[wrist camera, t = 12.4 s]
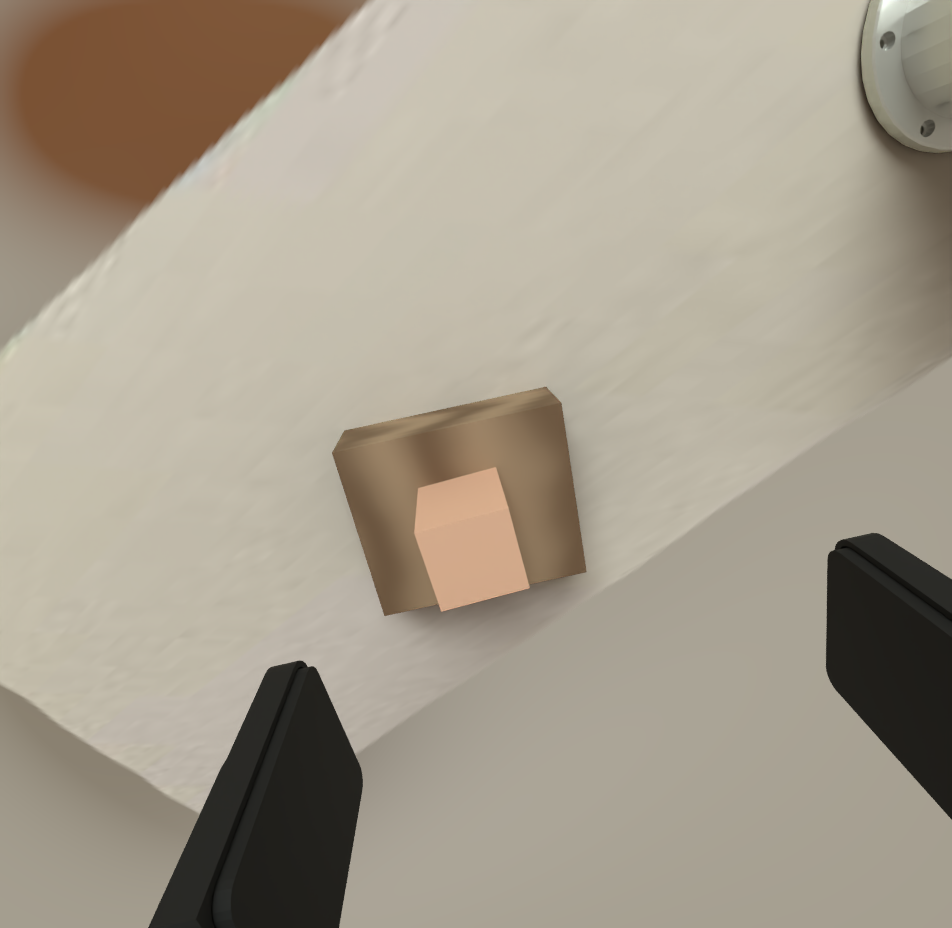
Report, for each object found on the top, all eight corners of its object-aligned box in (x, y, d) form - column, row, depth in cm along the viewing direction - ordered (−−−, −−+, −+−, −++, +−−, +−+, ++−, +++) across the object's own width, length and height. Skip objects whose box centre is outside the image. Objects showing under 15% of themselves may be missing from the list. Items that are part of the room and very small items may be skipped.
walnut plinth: (544, 385, 36) (561, 402, 31) (568, 536, 40) (586, 571, 35) (345, 429, 36) (332, 452, 31) (390, 575, 40) (384, 615, 35)
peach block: (495, 466, 32) (508, 507, 27) (514, 536, 34) (529, 588, 28) (418, 488, 32) (414, 533, 27) (440, 556, 34) (441, 611, 29)
